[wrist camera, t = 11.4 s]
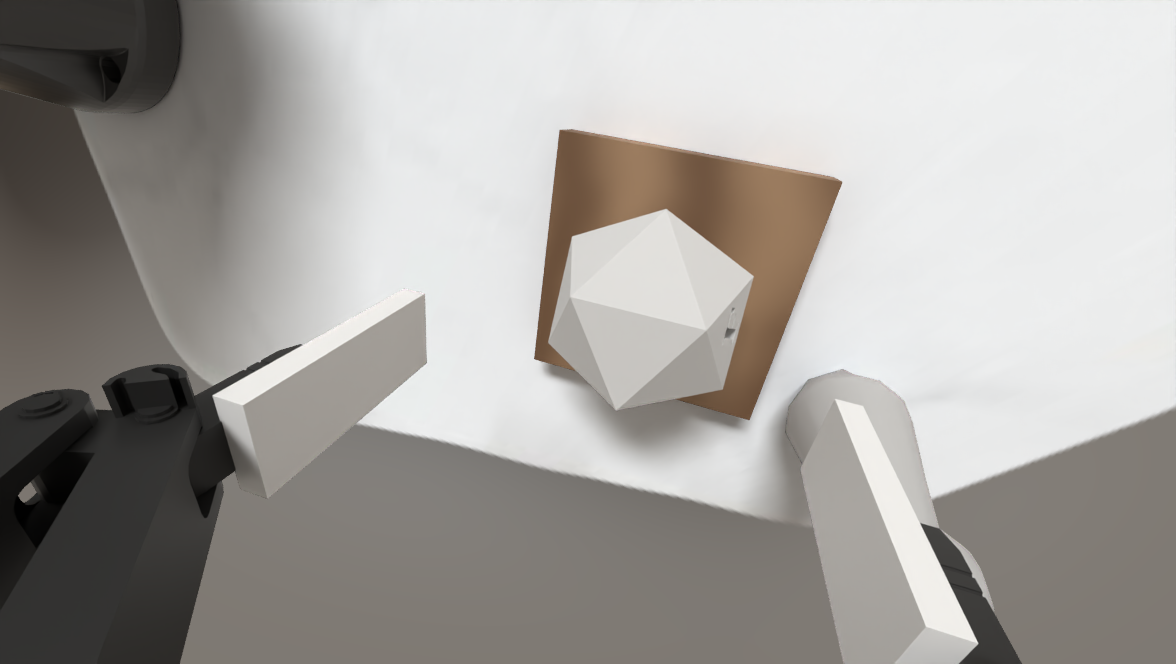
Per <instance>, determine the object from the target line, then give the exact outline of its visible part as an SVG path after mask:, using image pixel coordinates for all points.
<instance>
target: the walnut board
mask: <svg viewBox="0 0 1176 664" xmlns="http://www.w3.org/2000/svg"><path fill="white" fill-rule="evenodd" d="M841 185H842V181H840V180H838V179H836V178H834V177H830V176H824V175H819V174H813V173H808V172H802V171H797V170H792V169H786V168H781V167H775V166H770V165H764V164H759V163H753V162H748V161H742V160H737V159H731V158H726V157H720V156H715V155H709V154H704V153H699V152H693V151H688V150H682V149H677V148H671V147H666V146H660V145H655V144H649V143H644V142H638V141H633V140H627V139H622V138H617V137H611V136H606V135H600V134H595V133H589V132H584V131H578V130H573V129H570V130H560V132H559V141H558V150H557V159H556V168H555V177H554V186H553V195H552V204H551V213H550V222H549V231H548V240H547V249H546V258H545V267H544V276H543V285H542V294H541V303H540V312H539V321H538V330H537V339H536V348H535V357H534V359H535V360H539V361H542V362H546V363H550V364H553V365H557V366H560V367H564V368H567V369H571V370H574V371H576V370H575V369H574V368H573V367H572V366H571V365H570V364H569V363H568V362H567V361H566V360H565V359H564V358H563V357H562V356H561V355H560V354H559V353H558V352H557V351H556V350H555V349H554V348H553V347H552V346H551V345H550V344H549V343H548V341H549V336H550V332H551V327H552V323H553V319H554V314H555V310H556V305H557V301H558V297H559V292H560V288H561V284H562V279H563V275H564V270H565V266H566V262H567V257H568V253H569V248H570V244H571V240H572V236H575V235H579V234H582V233H586V232H589V231H592V230H596V229H599V228H603V227H606V226H609V225H613V224H616V223H620V222H623V221H626V220H630V219H633V218H637V217H640V216H644V215H647V214H650V213H654V212H657V211H661V210H664V209H667V210H668V211H670V212H671V213H672V214H674V215H675V216H676V217H678V218H679V219H680V220H681V221H683V222H684V223H685V224H687V225H688V226H689V227H690V228H692V229H693V230H694V231H696V232H697V233H698V234H700V235H701V236H702V237H703V238H705V239H706V240H707V241H709V242H710V243H711V244H713V245H714V246H715V247H716V248H718V249H719V250H720V251H722V252H723V253H724V254H726V255H727V256H728V257H729V258H731V259H732V260H733V261H735V262H736V263H737V264H738V265H740V266H741V267H742V268H744V269H745V270H746V271H748V272H749V273H750V274H751V275H753V276H754V277H753V281H752V285H751V288H750V292H749V296H748V299H747V303H746V307H745V310H744V314H743V317H742V321H741V325H740V328H739V332H738V336H737V339H736V343H735V347H734V350H733V354H732V357H731V361H730V365H729V368H728V372H727V376H726V379H725V383H724V387H723V390H718V391H713V392H708V393H703V394H698V395H693V396H688V397H682V398H677V399H676V400H680V401H683V402H687V403H690V404H694V405H698V406H701V407H705V408H708V409H712V410H715V411H719V412H722V413H726V414H729V415H733V416H736V417H740V418H743V419H747V420H750V417H751V415H752V412H753V410H754V407H755V404H756V402H757V399H758V397H759V394H760V392H761V389H762V387H763V384H764V381H765V379H766V376H767V374H768V371H769V369H770V366H771V364H772V361H773V358H774V356H775V353H776V351H777V348H778V346H779V343H780V341H781V338H782V335H783V333H784V330H785V328H786V325H787V323H788V320H789V318H790V315H791V312H792V310H793V307H794V305H795V302H796V300H797V297H798V295H799V292H800V289H801V287H802V284H803V282H804V279H805V277H806V274H807V272H808V269H809V266H810V264H811V261H812V259H813V256H814V254H815V251H816V249H817V246H818V243H819V241H820V238H821V236H822V233H823V231H824V228H825V226H826V223H827V220H828V218H829V215H830V213H831V210H832V208H833V205H834V203H835V200H836V197H837V195H838V192H839V190H840V187H841Z"/></svg>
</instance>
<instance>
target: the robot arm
mask: <svg viewBox="0 0 1176 664" xmlns="http://www.w3.org/2000/svg"><path fill="white" fill-rule="evenodd" d="M179 44H180V31H179V17H178V9H177V2H176V0H0V89H2V90H6V91H10V92H13V93H17V94H21V95H25V96H28V97H32V98H36V99H39V100H43V101H46V102H50V103H54V104H57V105H61V106H65V107H69V108H72V109H76V110H81V111H88V112H108V113H135V112H141V111H144V110H146V109H148V108H151V107H152V106H154V105H155V104H156V103H157V102H159V101H160V100H161V99H162V97H163V96H164V95H165V93H166V92H167V90H168V89H169V87H170V85H171V83H172V80H173V78H174V74H175V71H176V67H177V62H178V56H179ZM426 363H427V357H426V317H425V294H424V293H420V292H417V291H413V290H409V289H405V288H404V289H403V290H401V291H399V292H397V293H395V294H394V295H392V296H390V297H388V298H386V299H385V300H383V301H381V302H379V303H377V304H376V305H374V306H372V307H370V308H368V309H367V310H365V311H363V312H361V313H359V314H358V315H356V316H354V317H352V318H351V319H349V320H347V321H345V322H343V323H342V324H340V325H338V326H336V327H334V328H333V329H331V330H329V331H327V332H325V333H324V334H322V335H320V336H318V337H316V338H315V339H313V340H311V341H309V342H307V343H306V344H304V345H301V344H299V345H296V346H293V347H289V348H286V349H283V350H279V351H277V352H275V353H274V354H272V355H270V356H268V357H266V358H264V359H262V360H261V362H260V363H259V362H257V363H255V364H253V365H251V366H250V367H248V368H247V369H246V371H245V370H242V371H240V372H238V373H237V374H235V375H233V376H231V377H229V378H227V379H225V380H224V381H222V382H220V383H218V384H216V385H214V386H212V387H211V388H209V389H207V390H205V391H203V392H201V393H200V394H198V395H196V396H194V393H193V391H192V387H191V384H190V381H189V378H188V375H187V372H186V371H185V370H184V369H183V368H181V367H179V366H175V365H170V364H162V365H159V364H157V365H149V366H143V367H138V368H135V369H132V370H128V371H125V372H122V373H120V374H118V375H116V376H114V377H112V378H110V379H109V380H108V381H107V382H106V383H105V384H104V385H102V388H103V390H104V392H105V394H106V397H107V399H108V401H109V404H110V406H111V408H112V410H96V409H95V407H94V405H93V402H92V401H91V398H90V396H89V394H87V393H85V392H84V391H81V390H73V389H64V390H51V391H45V392H41V393H37V394H33V395H31V396H29V397H27V398H24V399H21V400H18V401H16V402H14V403H12V404H11V405H9V406H7V407H5V408H3V409H2V410H1V411H0V664H180V660H181V656H182V652H183V649H184V645H185V641H186V637H187V633H188V629H189V625H190V621H191V618H192V614H193V610H194V606H195V602H196V598H197V594H198V590H199V586H200V582H201V579H202V575H203V571H204V567H205V563H206V559H207V555H208V551H209V548H210V543H211V540H212V536H213V532H214V528H215V524H216V520H217V516H218V513H219V509H220V505H221V500H222V497H223V493H224V491H223V484H222V480H223V479H224V478H226V477H227V476H229V475H230V474H231V473H233V472H234V471H235V473H236V476H237V480H238V483H239V486H240V489H241V490H244V491H247V492H250V493H252V494H255V495H258V496H261V497H263V498H266V499H268V498H269V497H270V496H272V495H273V494H274V493H275V492H276V491H277V490H279V489H280V488H281V487H282V486H283V485H284V484H286V483H287V482H288V481H289V480H290V479H291V478H293V477H294V476H295V475H296V474H297V473H298V472H300V471H301V470H302V469H303V468H304V467H306V466H307V465H308V464H309V463H310V462H311V461H312V460H314V459H315V458H316V457H317V456H318V455H320V454H321V453H322V452H323V451H324V450H325V449H326V448H328V447H329V446H330V445H331V444H332V443H334V442H335V441H336V440H337V439H338V438H339V437H341V436H342V435H343V434H344V433H345V432H346V431H348V430H349V429H350V428H351V427H352V426H354V425H355V424H356V423H357V422H358V421H359V420H361V419H362V418H363V417H364V416H365V415H366V414H368V413H369V412H370V411H371V410H372V409H373V408H375V407H376V406H377V405H378V404H379V403H380V402H382V401H383V400H384V399H385V398H386V397H387V396H389V395H390V394H391V393H392V392H393V391H395V390H396V389H397V388H398V387H399V386H400V385H402V384H403V383H404V382H405V381H406V380H407V379H409V378H410V377H411V376H412V375H413V374H414V373H416V372H417V371H418V370H419V369H420V368H421V367H423V366H424V365H425V364H426ZM800 471H801V475H802V479H803V484H804V488H805V493H806V497H807V502H808V506H809V511H810V515H811V520H812V524H813V529H814V533H815V538H816V542H817V546H818V550H819V555H820V559H821V564H822V568H823V573H824V578H825V582H826V586H827V591H828V596H829V600H830V604H831V609H832V613H833V618H834V622H835V627H836V631H837V635H838V640H839V645H840V649H841V654H842V658H843V662H844V664H1022V663H1021V661H1020V660H1019V658H1018V656H1017V654H1016V652H1015V650H1014V649H1013V647H1012V645H1011V643H1010V641H1009V639H1008V638H1007V636H1006V634H1005V632H1004V630H1003V628H1002V627H1001V625H1000V623H999V621H998V619H997V617H996V616H995V614H994V612H993V610H992V608H991V606H990V605H989V603H988V601H987V599H986V598H985V597H983V596H982V594H983V592H982V590H981V588H980V586H979V584H978V583H977V581H976V579H975V578H973V577H972V572H971V570H970V568H969V566H968V564H967V563H966V561H965V559H964V557H963V555H962V553H961V552H960V550H959V549H958V548H957V547H956V546H955V545H954V544H953V543H952V542H951V540H950V539H949V538H948V537H947V536H946V535H945V534H944V533H943V532H942V531H941V530H940V529H939V528H936V527H932V526H929V525H926V524H922V523H920V522H919V520H918V518H917V516H916V514H915V512H914V510H913V508H912V506H911V504H910V502H909V500H908V498H907V496H906V494H905V492H904V489H903V487H902V485H901V483H900V481H899V479H898V477H897V475H896V473H895V471H894V469H893V467H892V465H891V463H890V461H889V459H888V457H887V454H886V452H885V450H884V448H883V446H882V444H881V442H880V440H879V438H878V436H877V434H876V432H875V430H874V428H873V426H872V424H871V422H870V419H869V417H868V415H867V413H866V411H865V409H864V407H863V406H861V405H857V404H853V403H849V402H845V401H842V400H838V399H835V400H834V402H833V404H832V406H831V408H830V410H829V412H828V414H827V416H826V418H825V420H824V422H823V424H822V426H821V428H820V430H819V432H818V434H817V436H816V438H815V440H814V442H813V444H812V446H811V448H810V450H809V452H808V454H807V456H806V458H805V460H804V462H803V464H802V466H801V468H800ZM30 482H31V483H32V485H33V487H34V488H35V490H36V492H37V493H36V494H35V495H34V496H33V497H32V498H31V499H30V500H28V501H27V502H25V503H23V502H22V501H21V500H20V499H19V497H18V495H19V493H20V492H21V491H22V489H23V488H24V487H25V486H26V485H27V484H28V483H30Z"/></svg>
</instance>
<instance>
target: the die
mask: <svg viewBox="0 0 1176 664" xmlns="http://www.w3.org/2000/svg"><path fill="white" fill-rule="evenodd" d="M753 277H754V276H753V275H751V274H750V273H749V272H748V271H746V270H745V269H744V268H742V267H741V266H740V265H738V264H737V263H736V262H735V261H733V260H732V259H731V258H729V257H728V256H727V255H726V254H724V253H723V252H722V251H720V250H719V249H718V248H716V247H715V246H714V245H713V244H711V243H710V242H709V241H707V240H706V239H705V238H703V237H702V236H701V235H700V234H698V233H697V232H696V231H694V230H693V229H692V228H690V227H689V226H688V225H687V224H685V223H684V222H683V221H681V220H680V219H679V218H678V217H676V216H675V215H674V214H672V213H671V212H670V211H668V210H667V209H664V210H661V211H657V212H654V213H650V214H647V215H644V216H640V217H637V218H633V219H630V220H626V221H623V222H620V223H616V224H613V225H609V226H606V227H603V228H599V229H596V230H592V231H589V232H586V233H582V234H579V235H575V236H572V240H571V244H570V248H569V253H568V257H567V262H566V266H565V270H564V275H563V279H562V284H561V288H560V292H559V297H558V301H557V305H556V310H555V314H554V319H553V323H552V327H551V332H550V336H549V341H548V343H549V344H550V345H551V346H552V347H553V348H554V349H555V350H556V351H557V352H558V353H559V354H560V355H561V356H562V357H563V358H564V359H565V360H566V361H567V362H568V363H569V364H570V365H571V366H572V367H573V368H574V369H575V370H576V371H577V372H578V373H579V374H580V375H581V376H582V377H583V378H584V379H585V380H586V381H587V382H588V383H589V384H590V385H591V386H592V387H593V388H594V389H595V390H596V391H597V392H598V393H599V394H600V395H601V396H602V397H603V398H604V399H605V400H606V401H607V402H608V403H609V404H610V405H611V406H612V407H613V408H614V409H615V410H616V411H617V410H622V409H627V408H632V407H637V406H642V405H647V404H652V403H657V402H662V401H667V400H672V399H677V398H682V397H688V396H693V395H698V394H703V393H708V392H713V391H718V390H723V387H724V383H725V379H726V376H727V372H728V368H729V365H730V361H731V357H732V354H733V350H734V347H735V343H736V339H737V336H738V332H739V328H740V325H741V321H742V317H743V314H744V310H745V307H746V303H747V299H748V296H749V292H750V288H751V285H752V281H753Z"/></svg>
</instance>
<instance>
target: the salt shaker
mask: <svg viewBox="0 0 1176 664" xmlns="http://www.w3.org/2000/svg"><path fill="white" fill-rule="evenodd" d="M835 399H838V400H842V401H845V402H849V403H853V404H857V405H861V406H863V407H864V409H865V411H866V413H867V415H868V417H869V419H870V422H871V424H872V426H873V428H874V430H875V432H876V434H877V436H878V438H879V440H880V442H881V444H882V446H883V448H884V450H885V452H886V454H887V457H888V459H889V461H890V463H891V465H892V467H893V469H894V471H895V473H896V475H897V477H898V479H899V481H900V483H901V485H902V487H903V489H904V492H905V494H906V496H907V498H908V500H909V502H910V504H911V506H912V508H913V510H914V512H915V514H916V516H917V518H918V520H919V522H920V523H922V524H926V525H929V526H932V527H936V528H939V526H938V522H937V518H936V515H935V511H934V508H933V504H932V500H931V496H930V493H929V489H928V486H927V482H926V478H925V474H924V470H923V465H922V461H921V457H920V452H919V448H918V444H917V440H916V435H915V431H914V427H913V422H912V420H911V417H910V415H909V412H908V409H907V407H906V404H905V402H904V400H903V399H902V398H901V397H900V396H898V395H897V394H896V393H895V392H893V391H892V390H891V389H889V388H888V387H887V386H886V385H884V384H883V383H882V382H880V381H878V380H874V379H870V378H866V377H862V376H858V375H854V374H852V373H850V372H848V371H846V370H843V369H841V370H838V371H835V372H831V373H828V374H825V375H821V376H818V377H815V378H811V379H808V381H807V382H806V384H805V385H804V387H803V388H802V390H801V391H800V392H799V394H798V395H797V396H796V398H795V399H794V400H793V402H792V403H791V404H790V406H789V409H788V416H787V423H786V430H785V432H786V434H787V436H788V438H789V440H790V442H791V444H792V446H793V448H794V450H795V452H796V453H797V455H798V457H799V459H800V461H801V463H802V464H803V462H804V460H805V458H806V456H807V454H808V452H809V450H810V448H811V446H812V444H813V442H814V440H815V438H816V436H817V434H818V432H819V430H820V428H821V426H822V424H823V422H824V420H825V418H826V416H827V414H828V412H829V410H830V408H831V406H832V404H833V402H834V400H835ZM941 531H942V530H941ZM942 532H943V533H944V534H945V535H946V536H947V537H948V538H949V539H950V540H951V542H952V543H953V544H954V545H955V546H956V547H957V548H958V549H959V550H960V552H961V553H962V555H963V557H964V559H965V561H966V563H967V564H968V566H969V568H970V570H971V572H972V577H973V578H975V579H976V581H977V583H978V584H979V586H980V588H981V590H982V592H983V594H982V596H983V597H985V598H986V599H987V601H988V603H989V605H990V606H991V608H992V610H993V612H994V607H993V604H992V600H991V597H990V594H989V591H988V588H987V586H986V583H985V580H984V577H983V575H982V572H981V569H980V568H979V566H978V564H977V563H976V561H975V560H974V558H973V556H972V555H971V553H970V552H969V551H968V550H967V549H965V548H964V547H963V546H962V545H961V544H960V543H958V542H957V541H956V540H954V539H953V538H952V537H950V536H949V535H947V534H946V533H945V532H944V531H942Z"/></svg>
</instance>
